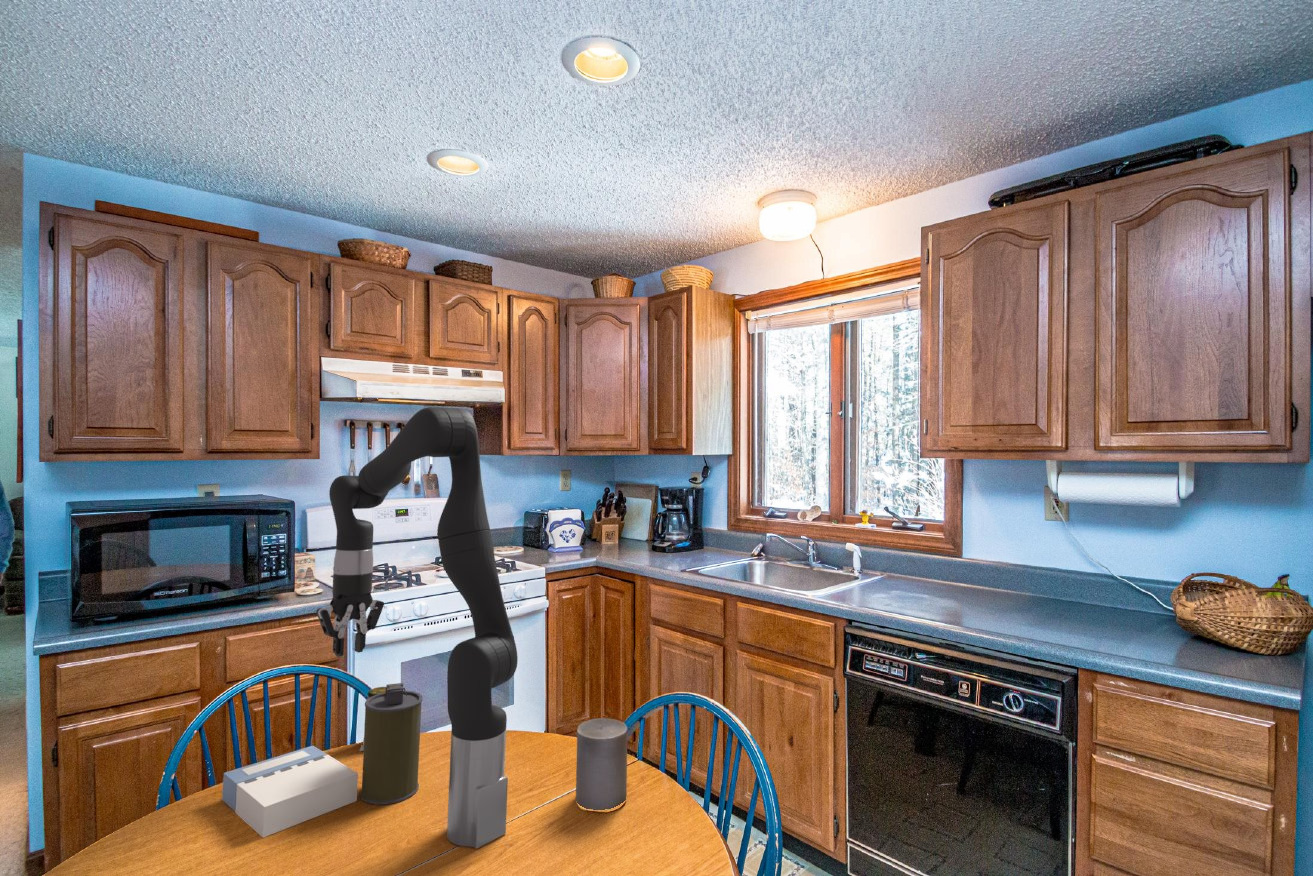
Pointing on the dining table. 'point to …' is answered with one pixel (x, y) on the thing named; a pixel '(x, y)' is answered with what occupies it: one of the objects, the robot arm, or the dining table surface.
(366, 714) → the canister
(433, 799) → the dining table surface
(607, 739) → the pillar candle
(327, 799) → the white box
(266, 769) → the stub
